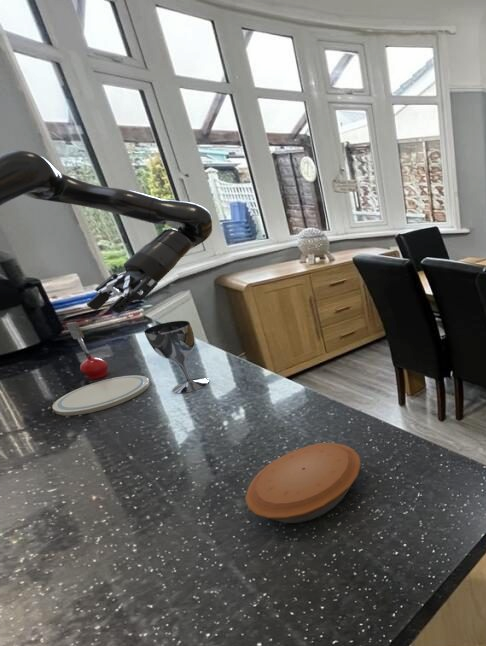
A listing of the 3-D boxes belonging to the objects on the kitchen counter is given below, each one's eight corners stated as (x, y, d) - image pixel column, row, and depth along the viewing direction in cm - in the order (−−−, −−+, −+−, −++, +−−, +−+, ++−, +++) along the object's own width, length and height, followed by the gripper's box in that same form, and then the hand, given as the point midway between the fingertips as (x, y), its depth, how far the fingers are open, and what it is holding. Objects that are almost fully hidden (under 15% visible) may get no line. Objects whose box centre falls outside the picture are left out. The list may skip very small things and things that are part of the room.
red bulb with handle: (101, 379, 98) (73, 325, 92) (80, 381, 97) (50, 327, 91) (116, 371, 102) (90, 318, 96) (96, 372, 101) (68, 320, 95)
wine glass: (218, 381, 95) (196, 324, 89) (179, 397, 88) (153, 336, 82) (202, 374, 98) (180, 318, 92) (164, 389, 92) (137, 330, 86)
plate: (39, 424, 80) (36, 419, 80) (72, 389, 93) (70, 385, 93) (139, 402, 87) (137, 397, 87) (157, 372, 100) (155, 369, 100)
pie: (226, 531, 54) (214, 504, 52) (297, 457, 68) (289, 433, 66) (329, 542, 52) (321, 515, 50) (380, 463, 66) (375, 439, 64)
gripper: (121, 250, 102) (67, 296, 93) (159, 252, 98) (106, 301, 89) (147, 271, 108) (99, 316, 99) (184, 274, 103) (136, 321, 95)
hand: (102, 309), depth 94 cm, fingers open, 8 cm apart
